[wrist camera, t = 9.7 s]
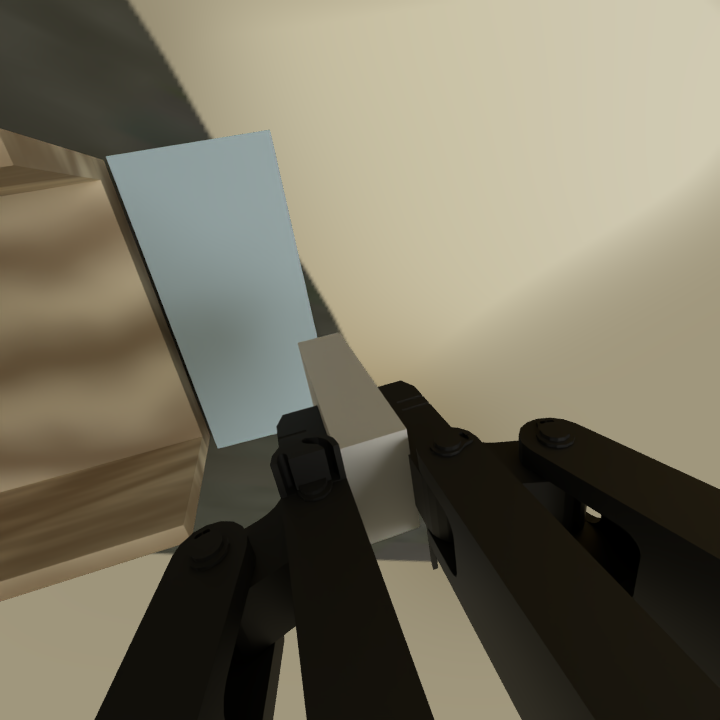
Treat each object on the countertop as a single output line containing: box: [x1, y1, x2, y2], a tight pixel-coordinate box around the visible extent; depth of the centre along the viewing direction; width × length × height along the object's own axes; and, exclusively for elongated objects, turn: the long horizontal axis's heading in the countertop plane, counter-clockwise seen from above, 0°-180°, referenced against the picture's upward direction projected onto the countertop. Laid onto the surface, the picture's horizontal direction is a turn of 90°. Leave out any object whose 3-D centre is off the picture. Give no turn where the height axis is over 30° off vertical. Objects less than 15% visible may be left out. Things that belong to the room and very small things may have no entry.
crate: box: [0, 129, 210, 601], centre depth 21 cm, size 20×15×11 cm
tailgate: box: [106, 130, 317, 448], centre depth 27 cm, size 20×2×9 cm
